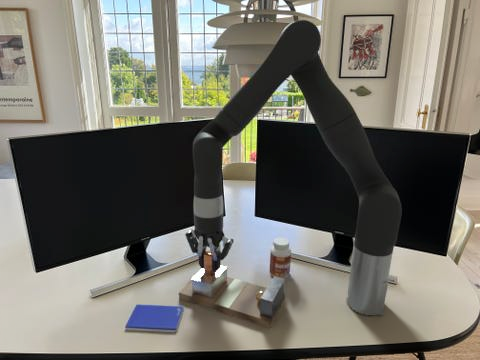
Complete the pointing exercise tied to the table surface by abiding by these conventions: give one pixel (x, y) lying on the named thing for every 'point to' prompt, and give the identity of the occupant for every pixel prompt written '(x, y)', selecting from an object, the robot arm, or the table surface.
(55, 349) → the table surface
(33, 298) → the table surface
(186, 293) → the board
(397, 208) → the robot arm
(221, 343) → the table surface
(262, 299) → the grey block with knob
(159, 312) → the hard drive
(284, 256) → the pill bottle
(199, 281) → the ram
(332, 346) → the table surface
